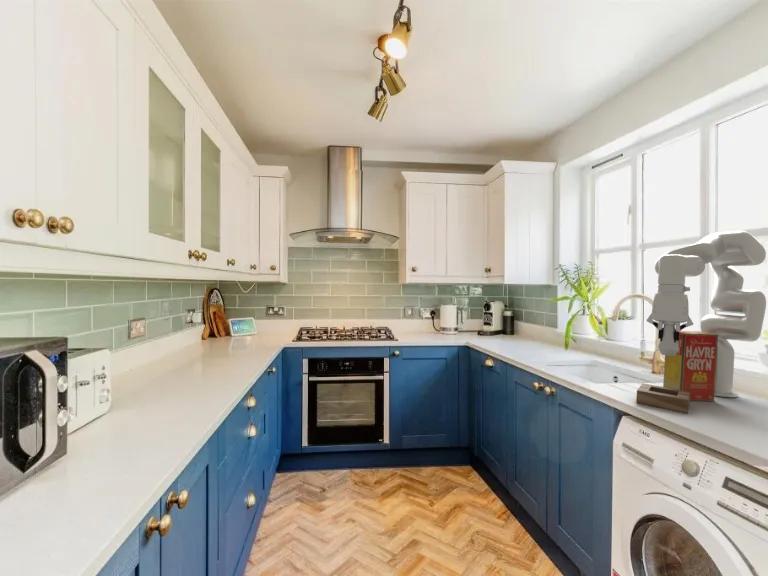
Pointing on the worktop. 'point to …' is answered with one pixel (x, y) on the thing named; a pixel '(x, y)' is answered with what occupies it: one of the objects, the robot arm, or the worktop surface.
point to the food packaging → (693, 365)
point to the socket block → (663, 398)
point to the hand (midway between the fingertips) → (668, 341)
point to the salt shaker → (668, 340)
